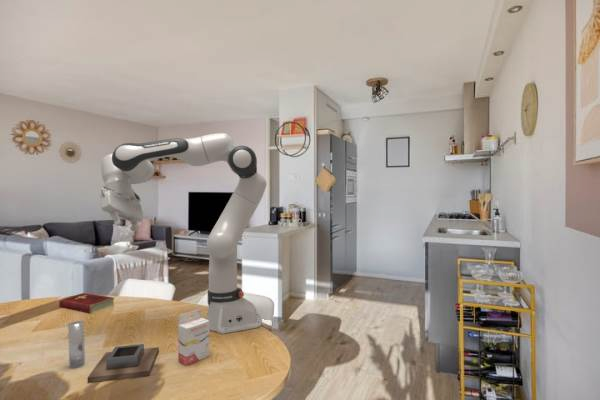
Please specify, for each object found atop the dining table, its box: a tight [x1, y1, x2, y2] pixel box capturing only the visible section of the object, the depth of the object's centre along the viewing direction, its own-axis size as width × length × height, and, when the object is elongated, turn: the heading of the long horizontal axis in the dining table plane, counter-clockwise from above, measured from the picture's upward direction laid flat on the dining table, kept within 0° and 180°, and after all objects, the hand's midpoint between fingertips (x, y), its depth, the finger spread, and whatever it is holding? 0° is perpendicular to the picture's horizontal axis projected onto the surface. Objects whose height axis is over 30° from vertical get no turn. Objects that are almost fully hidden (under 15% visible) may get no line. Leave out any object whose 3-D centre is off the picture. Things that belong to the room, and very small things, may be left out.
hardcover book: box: [58, 292, 116, 315], centre depth 156 cm, size 12×21×4 cm, turn 68°
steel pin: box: [67, 320, 86, 370], centre depth 104 cm, size 4×4×13 cm
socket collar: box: [106, 343, 145, 370], centre depth 103 cm, size 8×8×3 cm
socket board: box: [86, 346, 160, 384], centre depth 103 cm, size 16×15×2 cm
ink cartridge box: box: [177, 308, 210, 367], centre depth 107 cm, size 9×5×15 cm, turn 141°
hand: (126, 227), depth 120 cm, fingers open, 8 cm apart
